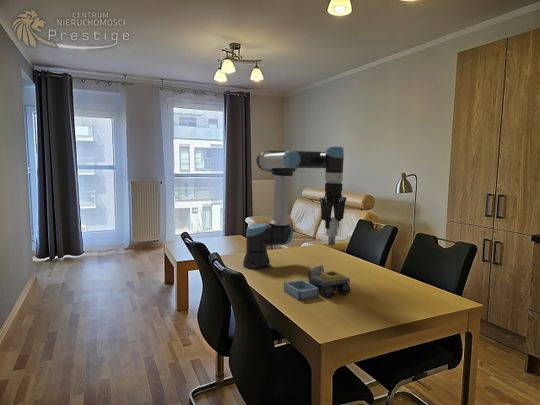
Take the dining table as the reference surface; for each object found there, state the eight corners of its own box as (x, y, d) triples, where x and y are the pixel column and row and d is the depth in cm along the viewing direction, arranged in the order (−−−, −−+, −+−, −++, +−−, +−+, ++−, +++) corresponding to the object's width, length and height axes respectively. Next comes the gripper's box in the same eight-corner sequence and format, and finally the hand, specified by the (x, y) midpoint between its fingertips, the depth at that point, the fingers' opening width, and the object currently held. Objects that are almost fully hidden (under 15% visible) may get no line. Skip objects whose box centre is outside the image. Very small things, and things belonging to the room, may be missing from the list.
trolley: (308, 290, 166) (309, 271, 165) (332, 285, 173) (333, 267, 172) (326, 300, 154) (327, 279, 153) (351, 294, 161) (352, 275, 160)
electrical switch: (315, 289, 168) (314, 269, 167) (306, 287, 171) (305, 268, 171) (326, 284, 175) (325, 265, 174) (318, 282, 178) (317, 264, 178)
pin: (326, 244, 161) (327, 217, 159) (332, 243, 162) (333, 217, 161) (331, 245, 158) (332, 218, 157) (336, 244, 160) (337, 218, 158)
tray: (283, 291, 164) (283, 282, 164) (302, 288, 169) (302, 279, 168) (299, 301, 153) (299, 291, 152) (318, 297, 158) (318, 288, 157)
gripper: (324, 183, 150) (322, 238, 153) (353, 182, 158) (351, 235, 160) (313, 182, 157) (312, 235, 159) (342, 181, 164) (340, 232, 167)
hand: (331, 235), depth 160 cm, fingers closed on pin, 3 cm apart
